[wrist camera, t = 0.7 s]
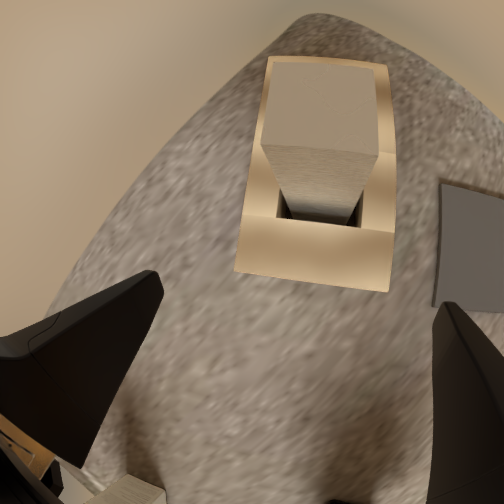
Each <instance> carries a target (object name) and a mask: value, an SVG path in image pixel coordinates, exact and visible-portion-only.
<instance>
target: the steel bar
mask: <svg viewBox="0 0 504 504" xmlns="http://www.w3.org/2000/svg"><path fill="white" fill-rule="evenodd" d="M260 145H261V147H262V149H263V151H264V153H265V155H266V158H267V160H268V162H269V164H270V166H271V169H272V171H273V173H274V175H275V177H276V180H277V182H278V184H279V186H280V189H281V191H282V193H283V195H284V198H285V200H286V202H287V205H288V207H289V209H290V212H291V214H292V216H293V219H294V220H301V221H309V222H318V223H326V224H334V225H342V226H346V224H347V222H348V220H349V218H350V216H351V214H352V212H353V210H354V208H355V206H356V204H357V201H358V199H359V197H360V195H361V193H362V191H363V189H364V187H365V185H366V183H367V181H368V178H369V176H370V174H371V172H372V170H373V167H374V165H375V163H376V161H377V159H378V156H379V138H378V115H377V101H376V89H375V79H374V70H373V69H369V68H362V67H355V66H346V65H336V64H324V63H305V62H273V68H272V74H271V80H270V86H269V92H268V98H267V105H266V111H265V117H264V123H263V130H262V136H261V142H260Z"/></svg>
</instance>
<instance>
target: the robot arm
mask: <svg viewBox="0 0 504 504" xmlns="http://www.w3.org/2000/svg"><path fill="white" fill-rule="evenodd" d="M163 296H164V289H163V286H162V283H161V280H160V277H159V275H158V273H157V272H156V271H152V270H145V271H142V272H140V273H138V274H136V275H134V276H132V277H130V278H128V279H125V280H123V281H121V282H119V283H117V284H115V285H113V286H111V287H109V288H107V289H105V290H103V291H100V292H98V293H96V294H94V295H92V296H90V297H88V298H86V299H84V300H82V301H80V302H78V303H76V304H74V305H72V306H70V307H68V308H66V309H64V310H62V311H60V312H58V313H56V314H54V315H52V316H50V317H48V318H46V319H44V320H42V321H40V322H38V323H35V324H33V325H31V326H28V327H26V328H24V329H22V330H19V331H17V332H15V333H13V334H10V335H8V336H4V337H0V504H64V503H63V502H62V501H61V500H59V499H58V497H59V495H60V494H61V492H62V490H63V489H64V487H63V482H62V477H61V472H60V465H59V462H58V461H57V460H56V459H55V457H56V455H57V456H58V457H60V458H62V459H63V460H65V461H67V462H68V463H70V464H72V465H74V466H75V467H77V468H79V469H81V468H82V467H83V465H84V463H85V460H86V458H87V456H88V453H89V451H90V449H91V447H92V444H93V442H94V440H95V438H96V436H97V433H98V431H99V429H100V427H101V426H100V425H101V424H102V422H103V420H104V418H105V416H106V414H107V412H108V410H109V407H110V405H111V403H112V401H113V399H114V397H115V395H116V393H117V391H118V389H119V387H120V385H121V383H122V381H123V379H124V377H125V375H126V373H127V371H128V369H129V367H130V365H131V364H132V362H133V360H134V358H135V356H136V354H137V352H138V350H139V348H140V346H141V345H142V343H143V341H144V339H145V337H146V335H147V333H148V331H149V329H150V327H151V324H152V322H153V320H154V317H155V315H156V313H157V310H158V308H159V306H160V303H161V301H162V299H163ZM432 339H433V356H432V383H433V446H432V460H431V471H430V479H429V487H428V494H427V501H426V504H504V357H503V356H502V354H501V353H500V352H499V351H498V349H497V348H496V347H495V346H494V345H493V343H492V342H491V341H490V340H489V339H488V337H487V336H486V335H485V334H484V333H483V332H482V330H481V329H480V328H479V327H478V326H477V325H476V324H475V323H474V322H473V320H472V319H471V318H470V317H469V316H468V315H467V314H466V313H465V312H464V311H463V310H462V309H461V307H460V306H459V305H458V304H457V303H456V302H453V301H444V302H442V303H441V305H440V307H439V310H438V312H437V315H436V317H435V319H434V322H433V327H432ZM327 504H349V503H345V502H342V501H338V500H331V501H330V502H328V503H327Z"/></svg>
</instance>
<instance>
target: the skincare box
mask: <svg viewBox="0 0 504 504" xmlns="http://www.w3.org/2000/svg"><path fill="white" fill-rule="evenodd" d="M84 504H167V503H166V492H165V490H163V489H161V488H159V487H156V486H154V485H151V484H149V483H147V482H145V481H142V480H140V479H138V478H136V477H134V476H132V475H129V474H126V475H125V476H124V477H122V478H121V479H120V480H118V481H117V482H115V483H114V484H113V485H111V486H110V487H108V488H107V489H105V490H104V491H102V492H101V493H99V494H98V495H96V496H95V497H93V498H92V499H90V500H89V501H87V502H86V503H84Z"/></svg>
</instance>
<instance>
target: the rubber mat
mask: <svg viewBox="0 0 504 504" xmlns="http://www.w3.org/2000/svg"><path fill="white" fill-rule="evenodd" d="M444 301H453V302H456V303H457V304H458V305H459V306H460V307H461V309H462V310H468V311H481V312H494V313H504V200H503V199H500V198H496V197H493V196H489V195H486V194H482V193H479V192H475V191H471V190H467V189H463V188H459V187H455V186H451V185H447V184H442V183H441V184H440V185H439V242H438V258H437V269H436V279H435V287H434V294H433V301H432V307H435V308H439V307H440V305H441V303H442V302H444Z"/></svg>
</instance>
